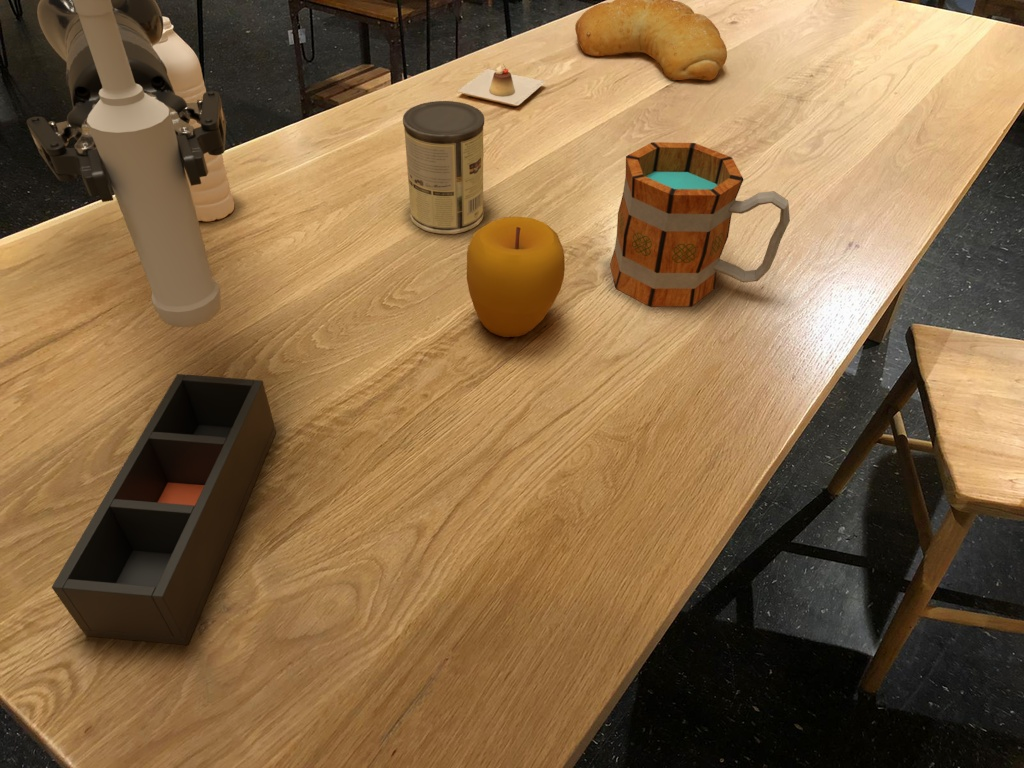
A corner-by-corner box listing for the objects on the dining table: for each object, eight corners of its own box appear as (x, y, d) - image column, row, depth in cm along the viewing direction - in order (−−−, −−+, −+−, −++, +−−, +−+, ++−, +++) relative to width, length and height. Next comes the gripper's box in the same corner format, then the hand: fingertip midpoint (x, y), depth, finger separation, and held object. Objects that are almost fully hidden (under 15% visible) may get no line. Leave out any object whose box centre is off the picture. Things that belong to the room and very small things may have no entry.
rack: (85, 636, 59) (51, 587, 54) (196, 425, 76) (177, 373, 71) (187, 645, 59) (162, 597, 54) (276, 431, 75) (262, 380, 71)
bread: (746, 61, 152) (758, 7, 145) (700, 91, 140) (712, 35, 134) (608, 23, 166) (614, -27, 159) (556, 48, 154) (560, -5, 147)
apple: (553, 360, 85) (562, 263, 76) (457, 348, 86) (455, 250, 77) (564, 301, 92) (573, 207, 84) (476, 290, 94) (476, 196, 85)
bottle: (216, 329, 61) (116, -9, 44) (149, 330, 60) (21, -11, 43) (229, 289, 65) (141, -36, 47) (166, 290, 64) (54, -38, 47)
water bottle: (187, 200, 107) (132, 10, 90) (236, 196, 108) (190, 8, 91) (182, 233, 101) (121, 36, 84) (233, 229, 102) (184, 34, 85)
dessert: (545, 87, 140) (547, 60, 136) (518, 111, 132) (519, 83, 128) (487, 74, 143) (487, 48, 140) (456, 97, 135) (456, 70, 132)
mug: (595, 293, 94) (610, 182, 84) (622, 238, 103) (639, 132, 93) (757, 332, 89) (794, 220, 79) (770, 270, 99) (804, 163, 88)
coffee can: (418, 193, 110) (412, 97, 101) (488, 199, 110) (489, 103, 100) (401, 231, 103) (394, 131, 93) (477, 238, 102) (477, 138, 92)
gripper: (220, 115, 68) (265, 208, 57) (41, 143, 63) (53, 250, 52) (200, 27, 63) (244, 111, 52) (3, 50, 58) (7, 147, 47)
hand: (148, 180), depth 52 cm, fingers closed on bottle, 5 cm apart
